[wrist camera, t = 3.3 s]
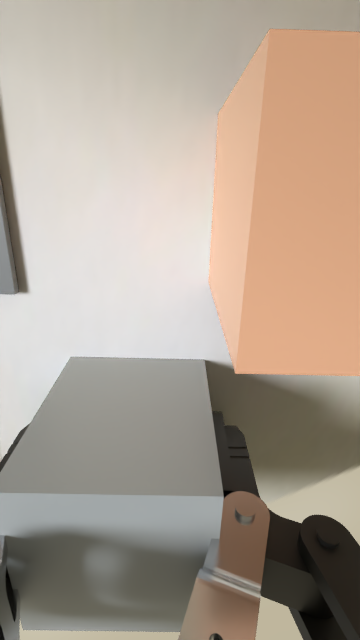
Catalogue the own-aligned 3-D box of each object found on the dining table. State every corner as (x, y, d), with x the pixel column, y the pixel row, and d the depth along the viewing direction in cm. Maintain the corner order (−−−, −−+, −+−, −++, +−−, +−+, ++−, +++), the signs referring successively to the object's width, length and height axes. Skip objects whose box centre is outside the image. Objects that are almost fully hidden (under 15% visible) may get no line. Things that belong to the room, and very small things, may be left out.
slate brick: (71, 356, 13) (-12, 492, 7) (204, 359, 13) (223, 496, 7) (81, 459, 15) (23, 629, 9) (198, 461, 15) (210, 632, 9)
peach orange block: (217, 113, 10) (270, 28, 4) (390, 118, 10) (659, 42, 4) (208, 281, 12) (235, 373, 6) (352, 284, 12) (507, 378, 6)
